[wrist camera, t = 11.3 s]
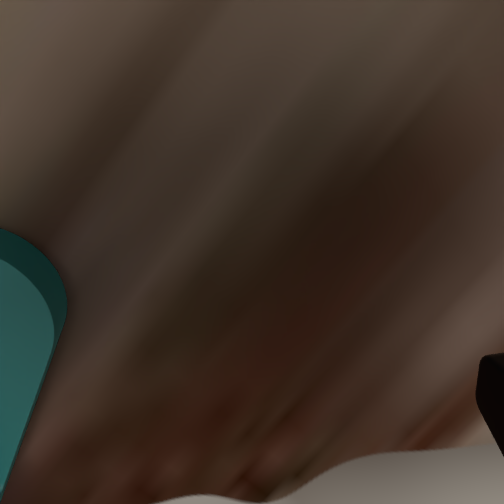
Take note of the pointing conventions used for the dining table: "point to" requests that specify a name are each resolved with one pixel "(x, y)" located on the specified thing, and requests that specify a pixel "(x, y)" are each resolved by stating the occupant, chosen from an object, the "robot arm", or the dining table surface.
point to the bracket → (24, 338)
